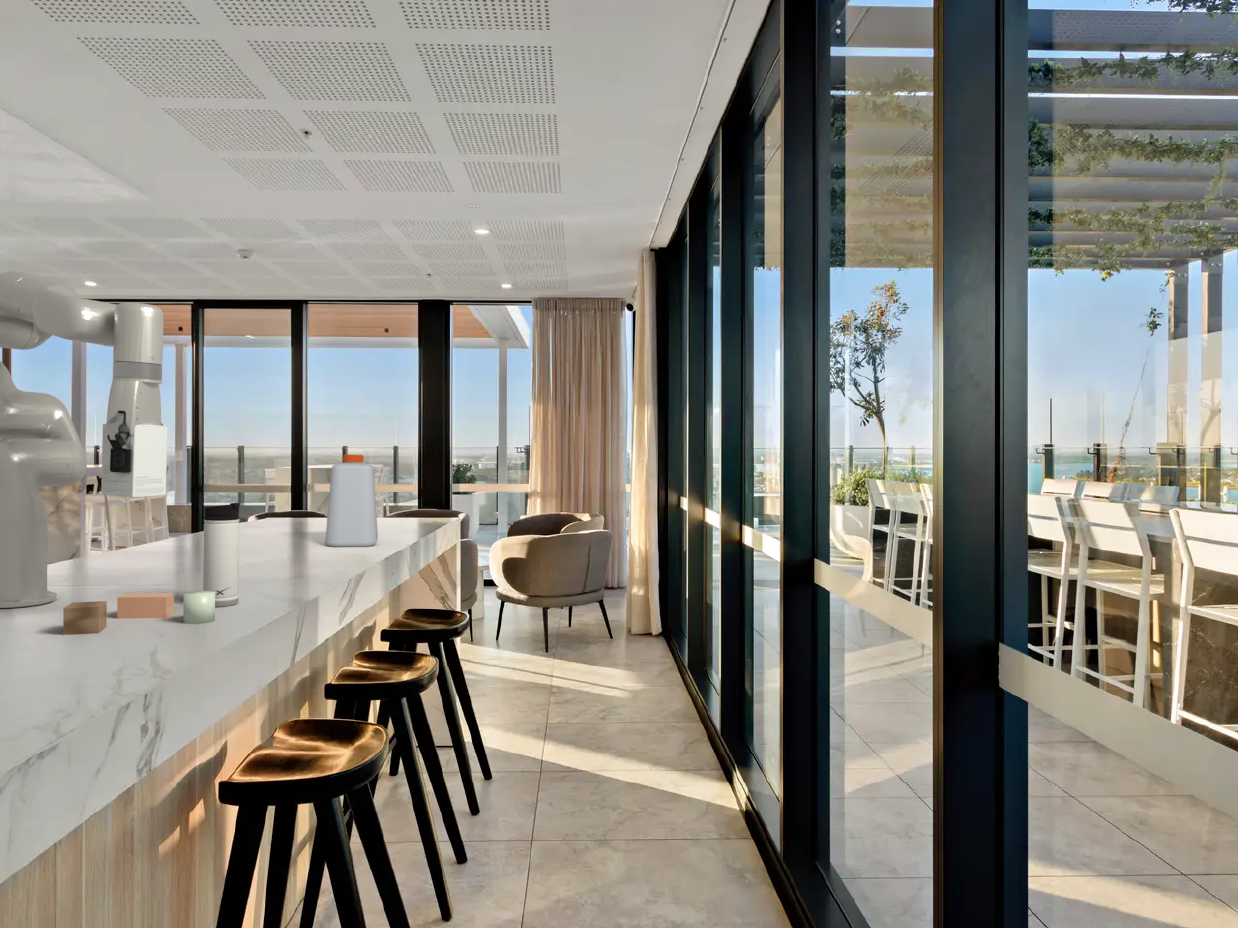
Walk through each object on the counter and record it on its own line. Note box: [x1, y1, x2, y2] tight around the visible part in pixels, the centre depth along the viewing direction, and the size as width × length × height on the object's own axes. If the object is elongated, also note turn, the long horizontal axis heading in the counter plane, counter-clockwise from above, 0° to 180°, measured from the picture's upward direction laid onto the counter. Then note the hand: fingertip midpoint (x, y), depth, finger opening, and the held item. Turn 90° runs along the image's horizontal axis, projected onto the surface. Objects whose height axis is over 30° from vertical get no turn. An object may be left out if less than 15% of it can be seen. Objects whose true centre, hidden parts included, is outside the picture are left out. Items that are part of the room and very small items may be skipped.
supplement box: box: [100, 423, 168, 498], centre depth 146 cm, size 7×7×13 cm
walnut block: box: [62, 600, 108, 636], centre depth 137 cm, size 5×5×4 cm
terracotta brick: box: [116, 592, 175, 620], centre depth 149 cm, size 8×4×4 cm, turn 100°
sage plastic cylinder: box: [182, 590, 216, 625], centre depth 146 cm, size 5×5×5 cm
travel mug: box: [202, 502, 241, 608], centre depth 161 cm, size 6×7×20 cm
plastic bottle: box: [325, 454, 379, 548], centre depth 257 cm, size 15×15×28 cm
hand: (134, 470), depth 146 cm, fingers closed on supplement box, 9 cm apart
